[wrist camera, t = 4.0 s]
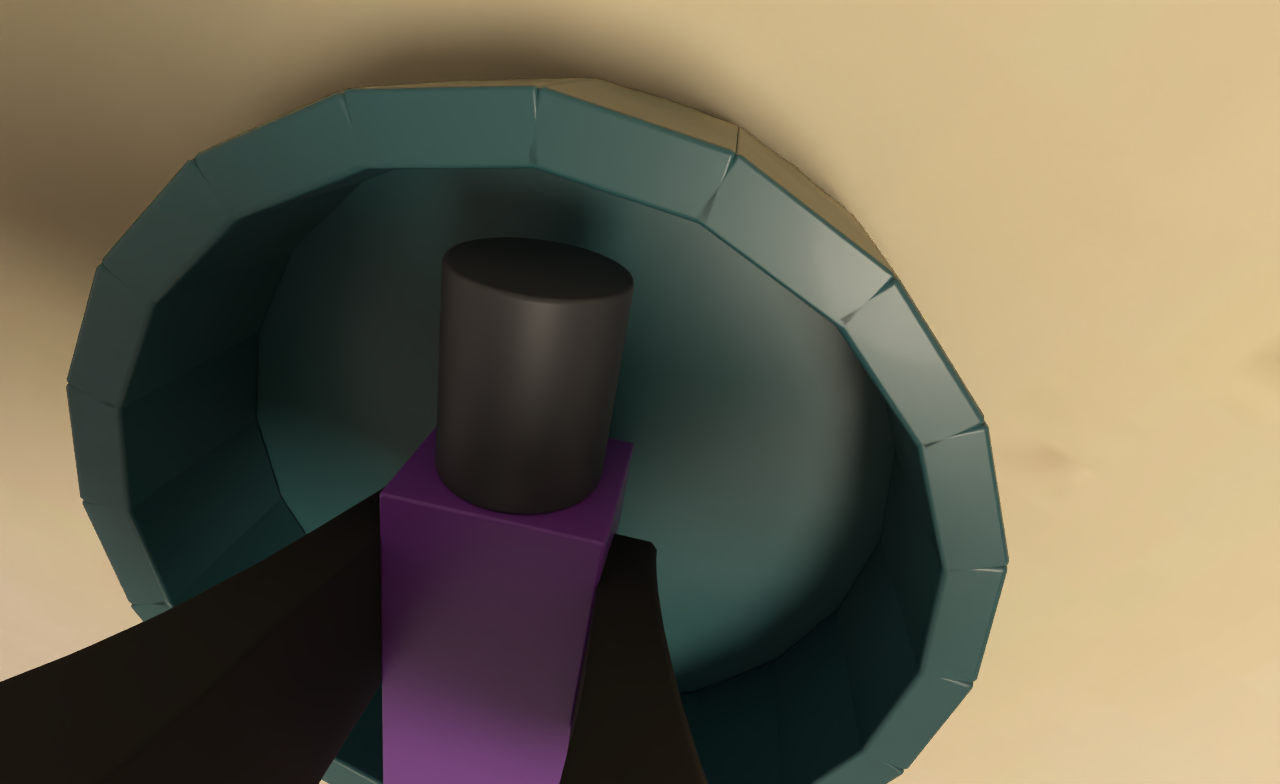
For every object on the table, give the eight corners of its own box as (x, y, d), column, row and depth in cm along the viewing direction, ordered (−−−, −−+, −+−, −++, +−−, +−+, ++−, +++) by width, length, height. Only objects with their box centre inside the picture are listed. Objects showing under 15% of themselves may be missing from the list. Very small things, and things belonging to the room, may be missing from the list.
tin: (649, 780, 17) (628, 945, 14) (159, 494, 15) (2, 611, 12) (1112, 414, 11) (1259, 557, 8) (408, -138, 9) (229, -242, 6)
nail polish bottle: (578, 733, 13) (546, 864, 11) (440, 701, 13) (382, 823, 11) (669, 260, 9) (647, 325, 7) (463, 218, 9) (374, 268, 7)
